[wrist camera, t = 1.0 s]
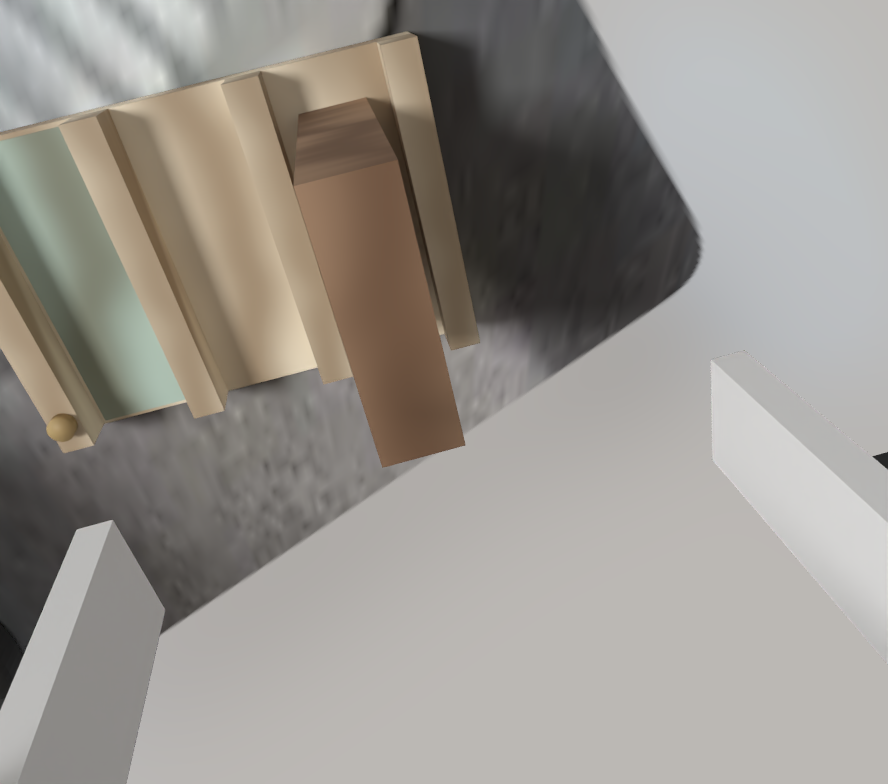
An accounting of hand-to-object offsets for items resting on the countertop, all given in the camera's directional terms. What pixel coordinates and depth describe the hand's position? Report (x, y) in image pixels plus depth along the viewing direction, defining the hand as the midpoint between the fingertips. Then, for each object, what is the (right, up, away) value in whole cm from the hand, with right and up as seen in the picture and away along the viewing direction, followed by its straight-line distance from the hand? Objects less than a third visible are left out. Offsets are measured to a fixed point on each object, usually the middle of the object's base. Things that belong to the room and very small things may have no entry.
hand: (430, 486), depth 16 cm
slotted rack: (-10, +9, +19) cm, 24 cm away
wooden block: (-3, +10, +18) cm, 21 cm away
